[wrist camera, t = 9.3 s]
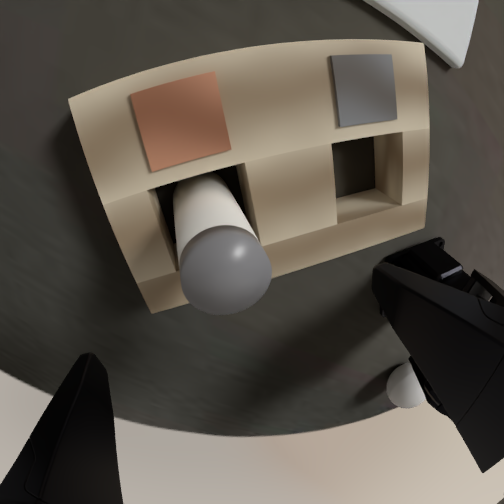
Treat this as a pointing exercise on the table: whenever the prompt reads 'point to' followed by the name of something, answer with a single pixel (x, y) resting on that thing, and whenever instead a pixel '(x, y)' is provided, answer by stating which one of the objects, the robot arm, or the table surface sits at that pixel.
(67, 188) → the table surface
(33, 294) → the table surface
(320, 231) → the socket block
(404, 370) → the white egg
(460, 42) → the external hard drive
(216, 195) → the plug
